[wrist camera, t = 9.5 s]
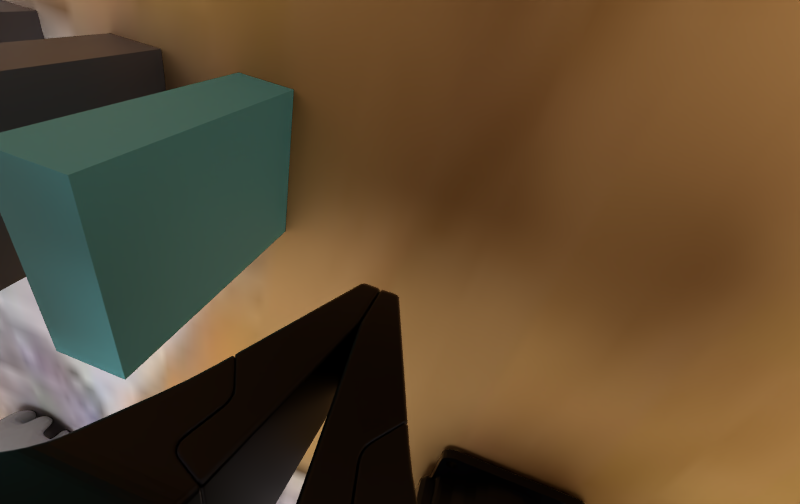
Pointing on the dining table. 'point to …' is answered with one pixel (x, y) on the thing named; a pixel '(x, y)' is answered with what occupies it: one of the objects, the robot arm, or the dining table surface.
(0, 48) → the domino
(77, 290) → the domino
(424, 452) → the dining table surface
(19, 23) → the domino
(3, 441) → the bottle
